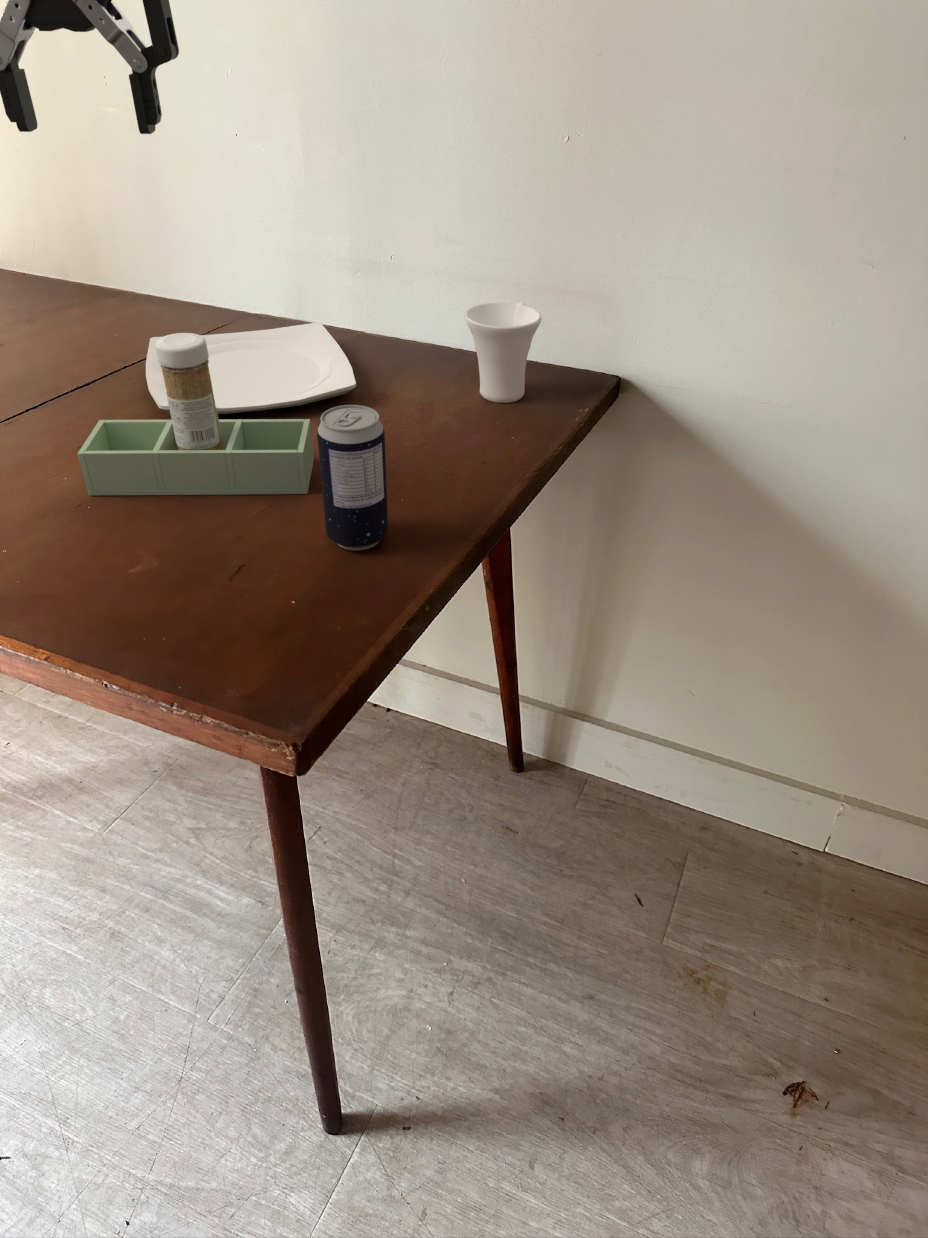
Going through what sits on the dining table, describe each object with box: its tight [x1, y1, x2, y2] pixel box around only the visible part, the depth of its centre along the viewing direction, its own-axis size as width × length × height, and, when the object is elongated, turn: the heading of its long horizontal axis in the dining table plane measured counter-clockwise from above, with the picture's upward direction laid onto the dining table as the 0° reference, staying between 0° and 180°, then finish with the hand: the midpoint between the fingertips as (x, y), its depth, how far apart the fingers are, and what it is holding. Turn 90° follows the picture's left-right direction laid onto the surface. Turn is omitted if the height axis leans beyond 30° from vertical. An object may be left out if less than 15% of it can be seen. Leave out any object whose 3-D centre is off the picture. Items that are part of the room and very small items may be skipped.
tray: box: [77, 418, 315, 497], centre depth 87 cm, size 21×8×5 cm, turn 93°
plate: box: [145, 322, 357, 415], centre depth 107 cm, size 24×24×3 cm
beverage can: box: [316, 404, 389, 551], centre depth 76 cm, size 6×6×12 cm
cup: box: [464, 301, 542, 404], centre depth 104 cm, size 9×9×10 cm
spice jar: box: [155, 332, 223, 450], centre depth 84 cm, size 5×5×13 cm
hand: (89, 131), depth 63 cm, fingers open, 8 cm apart
